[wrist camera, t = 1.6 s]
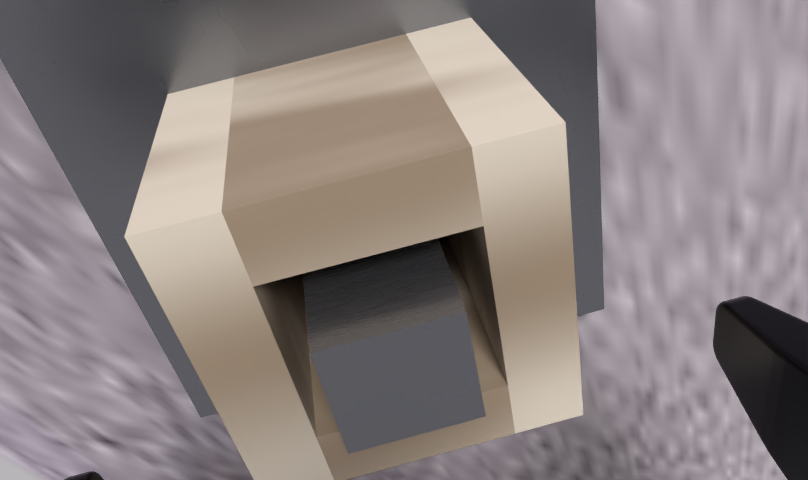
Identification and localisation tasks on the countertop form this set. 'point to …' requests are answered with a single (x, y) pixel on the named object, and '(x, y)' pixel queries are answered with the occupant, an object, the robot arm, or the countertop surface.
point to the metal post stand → (332, 286)
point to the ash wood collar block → (362, 233)
